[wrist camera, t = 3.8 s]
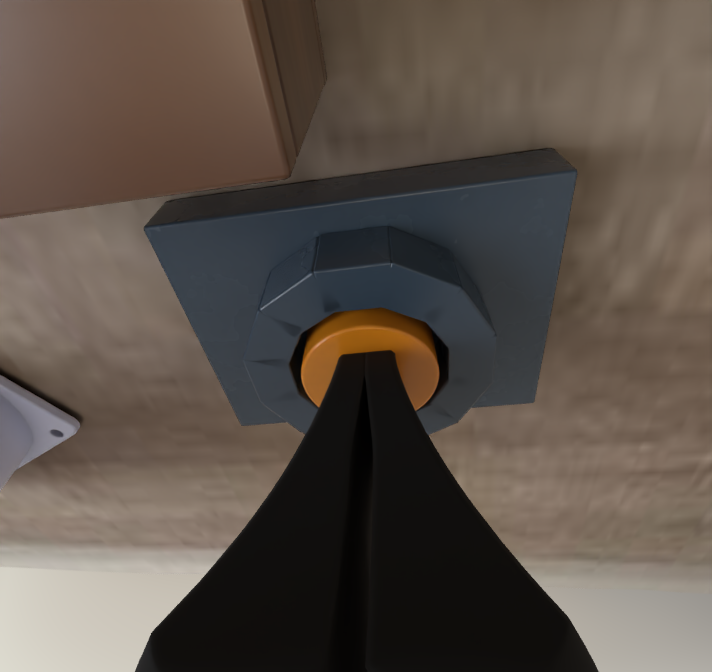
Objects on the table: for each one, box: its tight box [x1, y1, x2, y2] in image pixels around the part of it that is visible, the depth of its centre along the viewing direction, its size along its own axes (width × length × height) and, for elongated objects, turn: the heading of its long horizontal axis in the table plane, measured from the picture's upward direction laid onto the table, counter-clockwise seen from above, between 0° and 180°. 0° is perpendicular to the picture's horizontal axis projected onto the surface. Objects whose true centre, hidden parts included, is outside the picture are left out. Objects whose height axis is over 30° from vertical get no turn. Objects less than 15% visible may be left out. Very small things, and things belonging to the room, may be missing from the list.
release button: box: [301, 308, 439, 411], centre depth 12 cm, size 4×4×2 cm
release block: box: [144, 148, 577, 435], centre depth 13 cm, size 10×8×4 cm
